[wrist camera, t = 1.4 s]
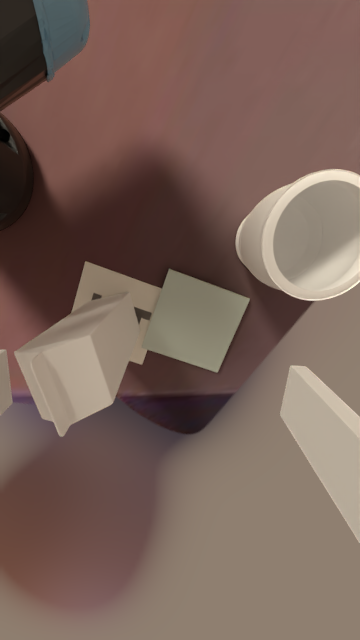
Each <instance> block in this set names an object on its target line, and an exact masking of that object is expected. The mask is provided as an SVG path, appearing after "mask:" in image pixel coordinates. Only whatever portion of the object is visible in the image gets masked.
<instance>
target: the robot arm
mask: <svg viewBox="0 0 360 640" xmlns="http://www.w3.org/2000/svg"><path fill="white" fill-rule="evenodd" d="M89 29H90V20H89V11H88V3H87V0H0V111H2V110H3V109H5V108H6V107H8V106H9V105H11V104H12V103H13V102H15V101H16V100H18V99H19V98H21V97H22V96H24V95H25V94H27V93H28V92H30V91H31V90H32V89H34V88H35V87H37V86H38V85H40V84H41V83H43V82H44V81H47V82H49V81H51V80H52V79H53V77H54V73H55V72H56V71H57V70H59V69H60V68H61V67H62V66H64V65H65V64H66V63H67V62H68V61H70V60H71V59H72V58H73V57H75V56H76V55H77V54H78V53H80V52H81V51H82V50H83V48H84V47H85V45H86V43H87V40H88V36H89ZM32 189H33V167H32V162H31V158H30V155H29V152H28V149H27V147H26V145H25V143H24V141H23V139H22V137H21V136H20V134H19V132H18V131H17V130H16V128H15V127H14V126H13V124H12V123H11V122H10V121H9V120H8V119H7V118H6V117H5V116H4V115H3V114H1V113H0V230H2V229H4V228H6V227H8V226H10V225H11V224H13V223H14V222H15V221H16V220H17V219H18V218H19V217H20V216H21V215H22V214H23V212H24V211H25V209H26V207H27V205H28V203H29V201H30V198H31V194H32ZM11 404H12V394H11V385H10V377H9V368H8V360H7V351H6V350H0V416H1V415H2V414H3V412H4V411H5V410H6V409H7V408H8V407H9V406H10V405H11ZM280 416H281V417H282V419H283V421H284V422H285V424H286V426H287V427H288V429H289V430H290V432H291V433H292V435H293V437H294V438H295V440H296V442H297V443H298V445H299V446H300V448H301V449H302V451H303V453H304V454H305V456H306V458H307V459H308V461H309V463H310V464H311V466H312V467H313V469H314V471H315V472H316V474H317V475H318V477H319V479H320V480H321V482H322V483H323V485H324V487H325V488H326V490H327V492H328V493H329V495H330V496H331V498H332V499H333V501H334V503H335V504H336V506H337V508H338V509H339V510H340V512H341V514H342V515H343V517H344V519H345V520H346V522H347V524H348V525H349V527H350V529H351V530H352V532H353V533H354V535H355V537H356V538H357V540H358V541H359V543H360V417H359V416H358V415H357V414H356V413H355V412H354V411H353V410H352V409H351V408H350V407H348V406H347V405H346V404H345V403H344V402H343V401H342V400H341V399H340V398H339V397H338V396H337V395H336V394H335V393H334V392H333V391H332V390H331V389H329V388H328V387H327V386H326V385H325V384H324V383H323V382H322V381H321V380H320V379H319V378H318V377H317V376H316V375H315V374H314V373H312V372H311V371H310V370H309V369H308V368H307V367H306V366H292V365H291V366H290V369H289V374H288V379H287V383H286V388H285V393H284V397H283V402H282V407H281V412H280Z"/></svg>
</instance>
